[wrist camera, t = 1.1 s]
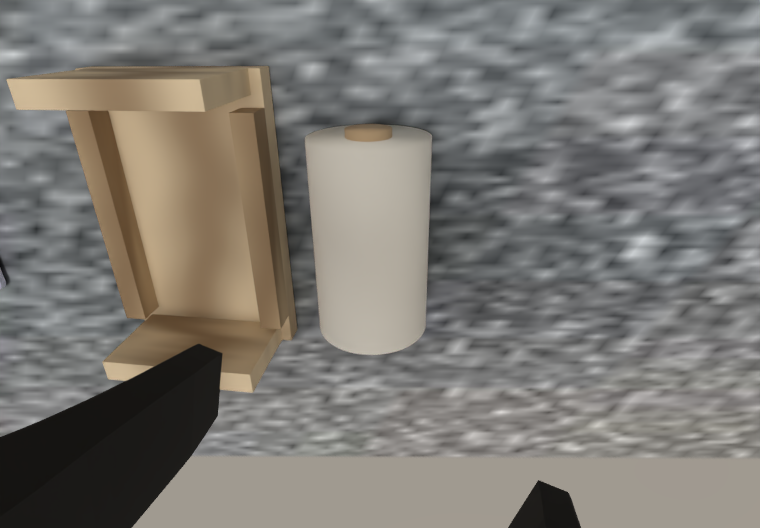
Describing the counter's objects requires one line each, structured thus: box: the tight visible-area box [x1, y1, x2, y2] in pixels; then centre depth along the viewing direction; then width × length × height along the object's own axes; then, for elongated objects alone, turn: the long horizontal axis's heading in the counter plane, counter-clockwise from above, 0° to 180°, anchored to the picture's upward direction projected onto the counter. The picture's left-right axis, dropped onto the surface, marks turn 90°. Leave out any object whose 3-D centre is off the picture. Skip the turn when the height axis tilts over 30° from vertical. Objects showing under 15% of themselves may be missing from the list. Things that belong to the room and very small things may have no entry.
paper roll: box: [305, 124, 432, 355], centre depth 20 cm, size 9×5×5 cm, turn 1°
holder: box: [6, 66, 297, 393], centre depth 21 cm, size 8×13×5 cm, turn 1°
